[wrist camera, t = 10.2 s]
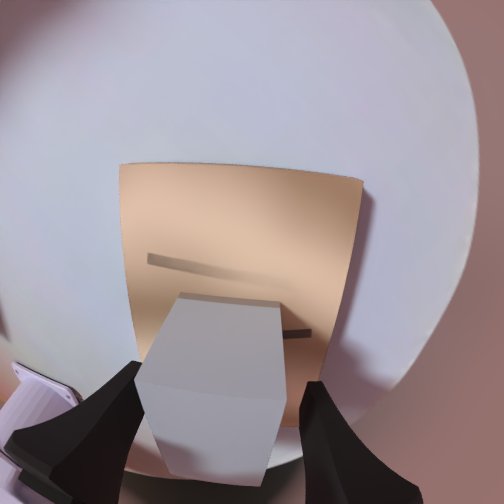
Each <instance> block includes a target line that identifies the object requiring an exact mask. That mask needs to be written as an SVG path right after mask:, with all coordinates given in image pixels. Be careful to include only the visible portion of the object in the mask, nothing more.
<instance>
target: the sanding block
mask: <svg viewBox="0 0 504 504" xmlns="http://www.w3.org/2000/svg"><path fill="white" fill-rule="evenodd" d="M134 381H135V385H136V388H137V391H138V394H139V397H140V400H141V403H142V406H143V409H144V412H145V415H146V418H147V420H148V423H149V426H150V428H151V431H152V433H153V436H154V439H155V441H156V443H157V446H158V448H159V451H160V453H161V455H162V458H163V460H164V462H165V464H166V466H167V469H168V471H169V473H170V475H174V476H179V477H184V478H189V479H195V480H202V481H208V482H215V483H223V484H233V485H245V486H260V485H261V482H262V479H263V477H264V474H265V471H266V468H267V465H268V462H269V459H270V456H271V452H272V449H273V446H274V443H275V440H276V436H277V433H278V430H279V426H280V423H281V419H282V416H283V412H284V409H285V405H286V402H287V394H286V379H285V364H284V351H283V337H282V325H281V313H280V301H267V300H255V299H243V298H232V297H222V296H212V295H203V294H194V293H185V292H180V294H179V296H178V297H177V299H176V301H175V303H174V305H173V307H172V308H171V310H170V312H169V314H168V316H167V318H166V319H165V321H164V323H163V325H162V327H161V329H160V331H159V332H158V334H157V336H156V338H155V340H154V342H153V344H152V346H151V348H150V350H149V351H148V353H147V355H146V357H145V359H144V361H143V363H142V365H141V367H140V369H139V371H138V373H137V375H136V377H135V379H134Z"/></svg>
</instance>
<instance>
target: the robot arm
mask: <svg viewBox="0 0 504 504" xmlns="http://www.w3.org/2000/svg"><path fill="white" fill-rule="evenodd" d="M141 365H142V363H141V362H137V361H131V362H130V363H128V364H127V365H126V366H125V367H124V368H123V369H122V370H121V371H120V372H118V373H117V374H116V375H115V376H114V377H113V378H112V379H111V380H109V381H108V382H107V383H106V384H105V385H103V386H102V387H101V388H100V389H99V390H97V391H96V392H95V393H93V394H92V395H91V396H90V397H88V398H87V399H86V400H84V401H83V402H81V403H80V404H79V403H78V401H77V399H76V397H75V395H74V393H73V391H72V390H71V389H70V388H68V387H67V386H64V385H62V384H59V383H57V382H55V381H52V380H50V379H48V378H46V377H44V376H42V375H39V374H37V373H35V372H33V371H31V370H29V369H27V368H25V367H23V366H21V365H20V364H18V363H16V362H13V363H12V367H13V369H14V371H15V373H16V375H17V376H18V378H19V380H20V382H21V384H20V385H19V386H18V388H17V389H16V390H15V392H14V393H13V394H12V396H11V397H10V398H9V400H8V401H7V402H6V404H5V405H4V406H3V408H2V409H1V410H0V504H118V500H119V492H120V487H121V481H122V477H123V472H124V468H125V464H126V460H127V456H128V453H129V450H130V447H131V444H132V442H133V440H134V437H135V435H136V433H137V430H138V428H139V426H140V423H141V421H142V419H143V416H144V414H145V412H144V409H143V406H142V403H141V400H140V397H139V394H138V391H137V388H136V385H135V381H134V379H135V377H136V375H137V373H138V371H139V369H140V367H141ZM299 430H300V437H301V444H302V451H303V458H304V465H305V475H306V501H305V504H423V499H422V495H421V492H420V490H419V487H418V486H416V485H414V484H412V483H411V482H409V481H407V480H406V479H404V478H402V477H401V476H399V475H398V474H397V473H395V472H394V471H392V470H391V469H390V468H388V467H387V466H386V465H385V464H384V463H383V462H382V461H380V460H379V459H378V458H377V457H376V456H375V455H374V454H373V453H372V452H371V451H370V450H369V449H368V448H367V447H366V446H365V445H364V444H363V443H362V442H361V440H360V439H359V438H358V437H357V436H356V434H355V433H354V432H353V430H352V429H351V428H350V426H349V425H348V424H347V422H346V421H345V419H344V418H343V416H342V415H341V413H340V412H339V410H338V409H337V407H336V405H335V404H334V402H333V400H332V399H331V397H330V395H329V393H328V392H327V390H326V388H325V386H324V384H323V383H322V381H308V382H307V385H306V388H305V391H304V394H303V397H302V400H301V403H300V406H299Z"/></svg>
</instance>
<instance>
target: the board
mask: <svg viewBox="0 0 504 504" xmlns="http://www.w3.org/2000/svg"><path fill="white" fill-rule="evenodd" d="M363 183H364V181H362V180H359V179H356V178H353V177H346V176H340V175H333V174H326V173H318V172H310V171H302V170H293V169H283V168H273V167H262V166H248V165H233V164H213V163H172V162H156V163H129V164H122V165H119V186H120V217H121V233H122V245H123V256H124V266H125V274H126V282H127V289H128V296H129V303H130V309H131V315H132V321H133V326H134V331H135V336H136V341H137V346H138V351H139V355H140V359H141V363H143V361H144V359H145V357H146V355H147V353H148V351H149V350H150V348H151V346H152V344H153V342H154V340H155V338H156V336H157V334H158V332H159V331H160V329H161V327H162V325H163V323H164V321H165V319H166V318H167V316H168V314H169V312H170V310H171V308H172V307H173V305H174V303H175V301H176V299H177V297H178V296H179V294H180V292H185V293H194V294H203V295H212V296H222V297H232V298H243V299H255V300H267V301H280V313H281V325H282V337H283V351H284V364H285V379H286V394H287V402H286V405H285V409H284V412H283V416H282V419H281V423H280V426H285V427H299V406H300V403H301V400H302V397H303V394H304V391H305V388H306V385H307V382H308V381H318V378H319V375H320V372H321V369H322V366H323V362H324V359H325V356H326V353H327V349H328V346H329V343H330V339H331V336H332V332H333V329H334V325H335V322H336V318H337V314H338V310H339V306H340V302H341V298H342V294H343V290H344V286H345V282H346V277H347V273H348V268H349V264H350V259H351V254H352V249H353V244H354V239H355V233H356V228H357V222H358V216H359V210H360V204H361V197H362V190H363Z"/></svg>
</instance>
